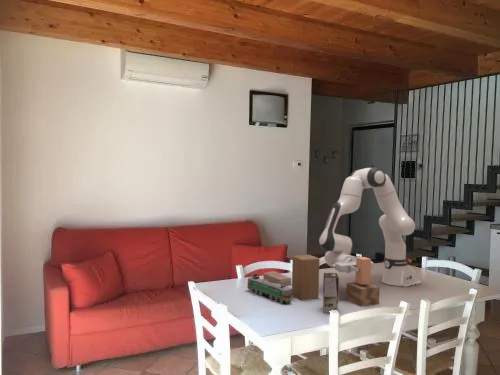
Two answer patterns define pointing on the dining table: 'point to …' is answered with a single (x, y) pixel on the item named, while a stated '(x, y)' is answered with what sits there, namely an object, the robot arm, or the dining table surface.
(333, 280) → the coffee box
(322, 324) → the dining table surface
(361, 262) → the terracotta block
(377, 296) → the tower base
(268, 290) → the toy train
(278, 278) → the brick
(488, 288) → the dining table surface
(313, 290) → the wooden block
